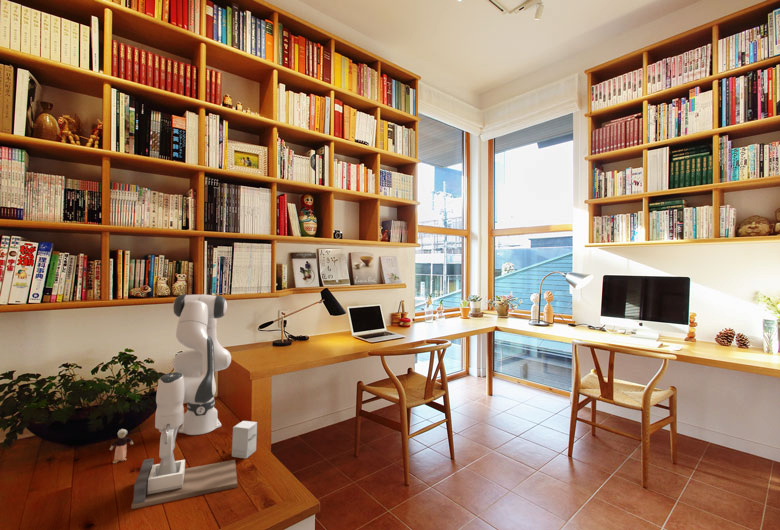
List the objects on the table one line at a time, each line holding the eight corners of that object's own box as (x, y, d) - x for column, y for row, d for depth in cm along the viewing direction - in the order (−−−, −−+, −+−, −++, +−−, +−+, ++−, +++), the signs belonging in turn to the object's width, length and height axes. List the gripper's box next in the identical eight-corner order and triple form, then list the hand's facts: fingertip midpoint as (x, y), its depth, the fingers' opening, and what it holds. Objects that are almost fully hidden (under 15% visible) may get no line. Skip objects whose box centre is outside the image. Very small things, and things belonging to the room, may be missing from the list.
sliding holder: (152, 478, 134) (152, 464, 134) (184, 472, 138) (185, 459, 138) (147, 494, 124) (148, 479, 124) (182, 487, 129) (182, 473, 129)
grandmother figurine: (111, 465, 145) (112, 433, 145) (108, 462, 147) (109, 430, 148) (133, 458, 151) (135, 427, 151) (130, 455, 153) (131, 424, 154)
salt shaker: (180, 477, 133) (181, 441, 134) (166, 485, 128) (168, 448, 128) (167, 474, 135) (168, 438, 135) (153, 482, 129) (154, 445, 130)
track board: (141, 480, 135) (142, 460, 136) (234, 463, 149) (235, 444, 149) (131, 509, 119) (132, 486, 119) (237, 487, 133) (238, 466, 133)
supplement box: (246, 459, 153) (248, 428, 153) (231, 456, 154) (232, 426, 155) (256, 450, 160) (257, 421, 160) (241, 448, 162) (242, 420, 162)
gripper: (176, 429, 124) (175, 471, 124) (182, 408, 142) (180, 444, 142) (155, 432, 121) (153, 474, 121) (163, 411, 140) (161, 447, 139)
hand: (168, 458), depth 132 cm, fingers open, 8 cm apart
